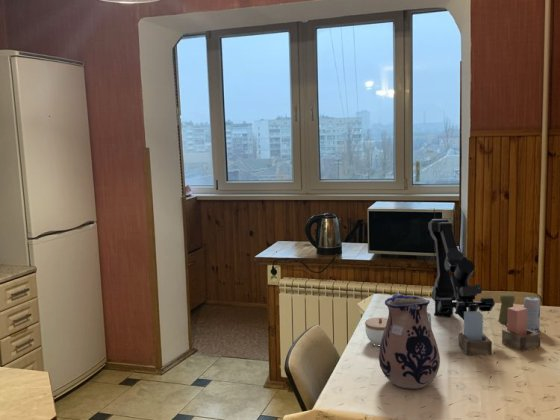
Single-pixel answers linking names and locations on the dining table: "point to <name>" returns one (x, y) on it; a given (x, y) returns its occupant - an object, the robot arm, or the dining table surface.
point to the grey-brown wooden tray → (521, 339)
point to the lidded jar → (375, 329)
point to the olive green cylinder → (505, 306)
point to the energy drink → (532, 312)
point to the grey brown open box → (475, 345)
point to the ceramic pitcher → (408, 343)
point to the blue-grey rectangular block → (473, 325)
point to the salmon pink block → (517, 320)
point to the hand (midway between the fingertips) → (471, 327)
